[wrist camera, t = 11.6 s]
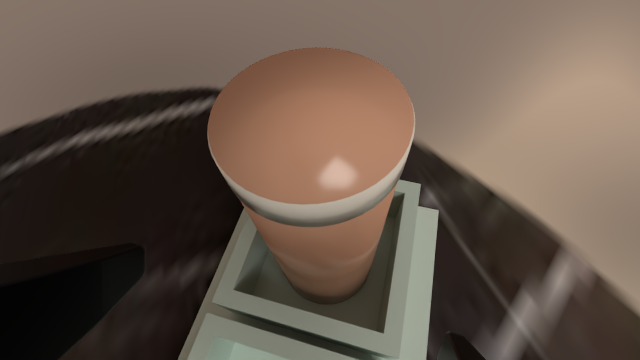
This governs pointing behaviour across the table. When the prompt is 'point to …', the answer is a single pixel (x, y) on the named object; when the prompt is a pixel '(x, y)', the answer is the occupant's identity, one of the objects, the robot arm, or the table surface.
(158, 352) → the table surface
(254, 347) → the compartment organizer
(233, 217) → the table surface
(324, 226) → the tumbler
